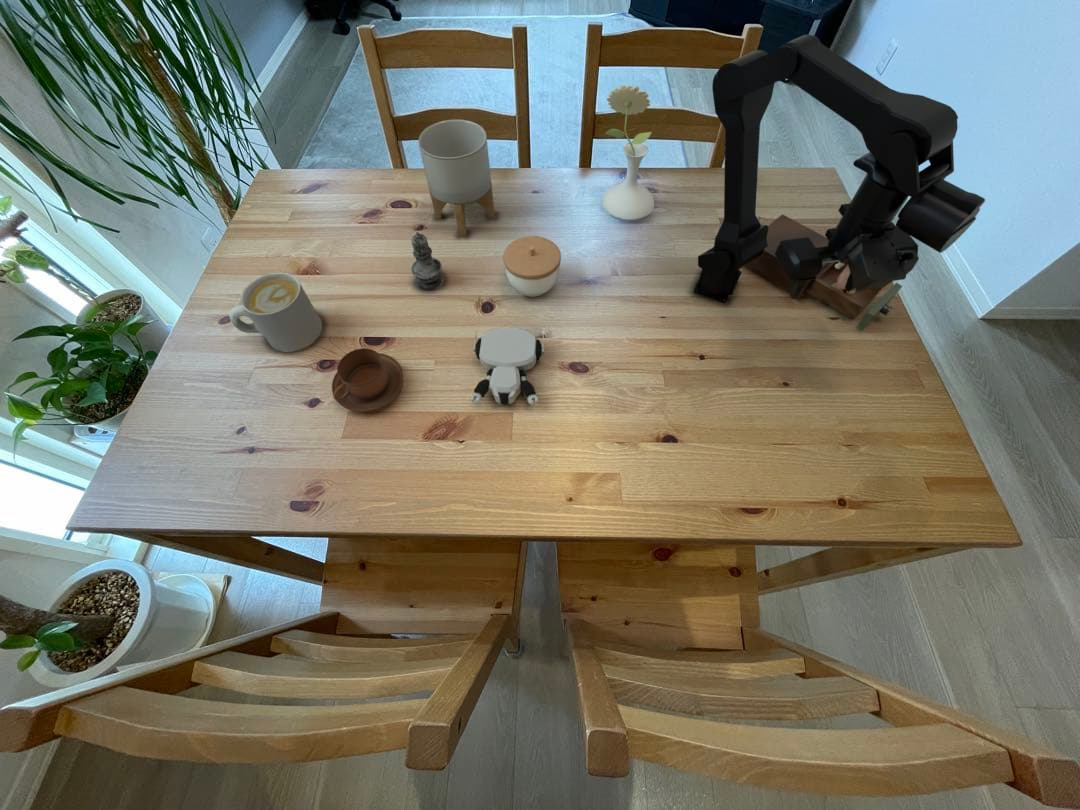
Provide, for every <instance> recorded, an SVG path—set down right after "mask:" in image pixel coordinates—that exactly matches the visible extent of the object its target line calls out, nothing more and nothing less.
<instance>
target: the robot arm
mask: <svg viewBox="0 0 1080 810" xmlns="http://www.w3.org/2000/svg"><path fill="white" fill-rule="evenodd" d="M782 80H788V81H789V82H791V83H792V84H793V85H795V86H796V87H798V88H799V89H801V90H802V91H804V92H805V93H806V94H808V95H809V96H810V97H812V98H813V99H815V100H816V101H818V102H819V103H821V104H822V105H823V106H825V107H827V108H828V109H829V110H831V112H833V113H834V114H836V115H837V116H839V117H841V118H842V119H843V120H845V121H846V122H848V123H849V124H850V125H852V126H854V128H856V130H857V131H858V132H859V133H860V134H861V136H862V140H863V142H864V145H865V148H866V149H867V151H868V152H867V153H865V154H864V155H861V156H860V157H859V158H857V159H855V160H854V161H853V163H852V165H853V166H854V167H855V168H857V169H859V170H861V171H863V172H865V174H866V175H865V177H864V178H863V180H862V182H861V183H860V185H859V187H858V188H857V190H856V192H855V194H854V196H853V197H852V199H851V201H850V203H842V204H840V207H839V208H838V210H837V211H838V213H839V214H840V215H841V218H840V220H839V222H838V223H837V225H836V226H835V227H833V228H828V229H826V231H825V233H824V237H826V238H827V239H828V240H829V242H828V246H825V247H817V248H815V246H814V245H813V243H812V242H811V240H810V239H809V237H806V238H798V239H790V240H784V241H781V242H780V244H779V246H778V248H777V250H776V252H775V255H776V257H777V259H778V260H779V262H780V264H781V265H782V267H783V269H784V270H785V272H786V274H787V275H788V277H789V282H790V293H789V296H790V297H791V300H796V299H797V298H796V297H797V296H798V295H799V294H800V292H801V291H802V289H803V288H804V286H805V285H806V283H807V281H808V280H814V279H817V278H816V276H815V275H817V274H818V273H819V272H820V270H821V269H822V264H823V263H831V262H838V261H840V262H841V263H847V262H848V261H849V262H848V266H849V269H850V274H849V277H848V279H847V282H846V285H845V289H846V290H847V291H848V292H850V291H852V290H853V289H855V288H856V289H857V290H859V291H863V290H867V289H874V288H882V289H883V288H885V287H886V286H888V285H889V284H891V283H892V282H896V281H901V280H902V281H903V280H905V279H906V278H907V275H908V274H909V273H910V272H911V271H913V269H914V268H915V267H916V265H917V263H918V262H919V260H920V258H919V255H918V254H919V244H918V243H917V242H916V241H915V240H914V239H916V240H917V241H918V242H920V243H922V244H924V245H925V246H927V247H929V248H931V249H932V250H934V251H936V252H937V253H940V254H941V253H942V254H943V252H945V251H947V250H948V248H950V247H951V246H952V245H953V244H954V243H956V241H957V240H959V238H961V236H962V235H963V234H965V232H966V231H967V230H968V229H969V228H970V227H971V226H972V225H973V224H974V222H975V221H976V220H977V216H978V214H979V212H980V211H981V207H982V205H984V204H985V202H986V198H985V197H982V196H980V195H979V194H977V193H975V192H974V193H973V192H970V191H967V190H965V189H963V188H961V187H959V186H957V185H955V184H954V183H952V182H949V181H948V180H946V178H947V177H949V176H950V175H951V174H953V173H954V172H955V162H954V161H955V159H954V139H955V138H956V135H957V131H958V127H959V126H958V119H959V116H958V114H957V112H956V111H955V109H953V108H952V106H950V105H948V104H946V103H943V102H941V101H938V100H935V99H932V98H930V97H927V96H925V95H921V94H914V93H908V92H900V91H897V90H895V89H892V88H890V87H888V86H887V85H885V84H884V83H882V82H881V81H879V80H878V79H876V78H875V77H874V76H872V75H870V74H869V73H867V72H865V70H862V68H859V67H858V66H857V65H855V64H853V63H852V62H850V61H849V60H847V59H845V58H844V57H842V56H841V55H839V53H836V52H835V51H834V50H832V49H831V48H829V47H827V46H826V45H824V44H823V43H822V42H821V40H820V39H819V37H817V35H812V34H810V33H809V34H803V35H801V36H798V37H797V38H794V39H792V40H790V41H788V42H785V43H784V44H782V45H781V46H780V47H779V48H777V49H775V50H773V51H770V52H769V53H768V52H766V51H765V50H761V49H757V50H753V51H751V52H749V53H747V54H744V55H742V56H740V57H738V58H736V59H732V60H731V61H729V62H725V63H724V64H723V65H722V66H720V67H719V69H718V70H717V71H716V73H715V74H714V75H713V79H712V85H711V86H712V97H713V105H714V113H715V115H716V116H717V118H718V119H719V121H720V123H721V125H722V126H723V129H724V184H723V185H724V189H723V191H724V192H723V196H724V197H723V204H724V205H723V221H722V222H721V225H720V227H719V229H718V231H717V233H716V235H715V237H714V243H713V246H712V247H711V248H709V249H708V250H706V251H704V252H703V253H701V254H699V255H698V256H697V266H698V268H700V269H701V272H700V274H699V278H698V280H697V282H696V284H695V287H694V289H693V291H692V292H693V294H696V295H698V296H700V297H701V296H702V297H704V298H707V299H710V300H713V301H715V302H716V301H717V302H720V303H722V304H726V303H727V302H728V299H729V297H730V296H733V295H734V291H735V290H736V287H737V284H738V282H739V280H740V278H741V276H742V272H743V271H742V270H741V269H742V268H744V267H745V266H746V265H747V264H749V263H750V262H752V261H754V260H755V259H757V258H758V257H760V256H761V255H762V254H763V252H764V249H765V248H766V247H768V243H767V233H768V225H767V224H761V222H760V221H759V219H758V218H757V215H756V210H757V209H756V208H757V191H758V170H759V169H758V168H759V154H760V153H759V151H760V136H761V135H760V133H761V122H762V119H763V117H764V115H765V113H766V111H767V109H768V106H769V105H770V102H771V101H772V98H773V94H774V89H775V83H777V82H780V81H782ZM927 161H928V162H929V164H930V165H928V166H926V167H924V168H923V169H922V170H920V168H919V167H920V166H921V165H923V164H925V163H926V162H927ZM909 197H910V198H909ZM908 198H909V199H908ZM906 201H907V202H906ZM896 216H897V218H898V219H897V221H896V223H894V222H893V221H894V219H895V218H896Z"/></svg>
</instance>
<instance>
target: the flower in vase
mask: <svg viewBox="0 0 1080 810" xmlns="http://www.w3.org/2000/svg"><path fill="white" fill-rule="evenodd" d="M649 96H650V95H649V93H647V91H645V90H640V86H637V85H636V86H632V85H627V86H626V85H624V84H622V85H620V88H618V87H615V88H614V89H613V90H610V93H609V94H608V97H606V101H607V102H608V105H609V106H610V109H612V110H614V111H615V112H616V113H621V114H622V115H625V119H624V129H623V130H624V131H622V130H621V129H619V128H611V129H609V130H607V131H606V132H605V133H604V135H606V136H612V137H614V138H617V139H621V138H623V137H625V138H626V139H627V141H628V143H626V144H624V146H623V147H622V152H623V154H624V155H625V157H626V162H627V164H626V165H627V166H626V167H627V169H626V176H625V179H624V181H622V182H619V183H616V184H614V185H613V186H611V187H610V188H608V189H607V190H606V191H605V192H604V194H603V196H602V197H601V206H602V209H603V210H604V211H605V212H606V213H607V214H608V215H609V216H611V217H613V218H615V219H617V220H621V221H629V222H630V221H638V220H641V219H644V218H645V217H647V216H648V215H649V214H650V213H652V211H653V210H654V207H655V201H654V196H653V195H652V193H651V192H650V191H649V190H648V189H647V188H646V187H645V186H643V185H641V184H640V183H639V182H638V173H639V168H640V165H641V164H642V163H641V162H642V160H643V158H645V156H646V155H648V153H649V147H648V146H647V145H646V144H645V143H644V142H646V141H647V140H648V139H649V138H650V137H651V134H652V132H653V131H648V132H639V133H637V135H635V136H634V138H633V139H632V141H631V139H630V138H629V135H628V133H627V123H628V116H632V115H637V114H638V113H639V114H640V113H641V114H642V113H643V114H644V112H645V110H648V107H650V106H651V104H650V102H651V100H650V99H649V98H648V97H649Z"/></svg>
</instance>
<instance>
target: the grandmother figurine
mask: <svg viewBox="0 0 1080 810" xmlns="http://www.w3.org/2000/svg"><path fill="white" fill-rule="evenodd" d="M848 262H849V261H848ZM848 262H847V263H841V262H839V263H837V264H836V265H835V268H836V269H840V268H841V267H842V266H844V265H846V264H848ZM849 274H850V269H849V266H848V265H847V267H846V268H845V269H844V270H843V271H842V273H841V274H840V275H839V277H838V278H837V283H834V284H832V285H831V286H833V287H834V288H836V289H838V290H840V291H841V292H844V291H843V289H845V285H846V282H847V279H848V277H849ZM855 290H856V288H855V289H853V290H852V291H850V292H848V291H847V290H846V292H847V293H848V294H854V293H855Z"/></svg>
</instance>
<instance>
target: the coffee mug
mask: <svg viewBox="0 0 1080 810" xmlns="http://www.w3.org/2000/svg"><path fill="white" fill-rule="evenodd" d="M240 317H246V318H248V319H250V320H251V321H252V323H247V322H244V321H243V320H241V318H240ZM229 319H230V322H231V324H232V325H233V326H234V327H235V328H236V329H237V330H239V331H240V332H243V333H247V334H261V335H262V336H263V337H264V338H265V339H266V341H267V342H268V344H269V345H270V346H271V347H272V348H273V349H274V350H276V351H279V352H282V353H283V352H284V353H293V352H298V351H301V350H303V349H306V348H308V347H310V346H311V345H312V344H314V342H316V341H317V339H318V338H319V337H320V335H321V333H322V330H323V322H322V319H321V318H320V316H319V314H318V312H317V311H316V309H315V307H314V306H313V304H312V302H311V300H310V298H309V297H308V295H307V293H306V291H305V289H304V288H303V286H302V284H301V283H300V281H299V279H297V277H295V275H293V274H291V273H287V272H280V271H279V272H276V271H275V272H271V273H267V274H263V275H261V276H258V277H257V278H255V279H253V280H252V281H250V282H249V283H248V284H247V285H246V286H245V287H244V288H243V290H242V292H241V295H240V305H236V306H234V307H233V308H231V309H230V312H229Z"/></svg>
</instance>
